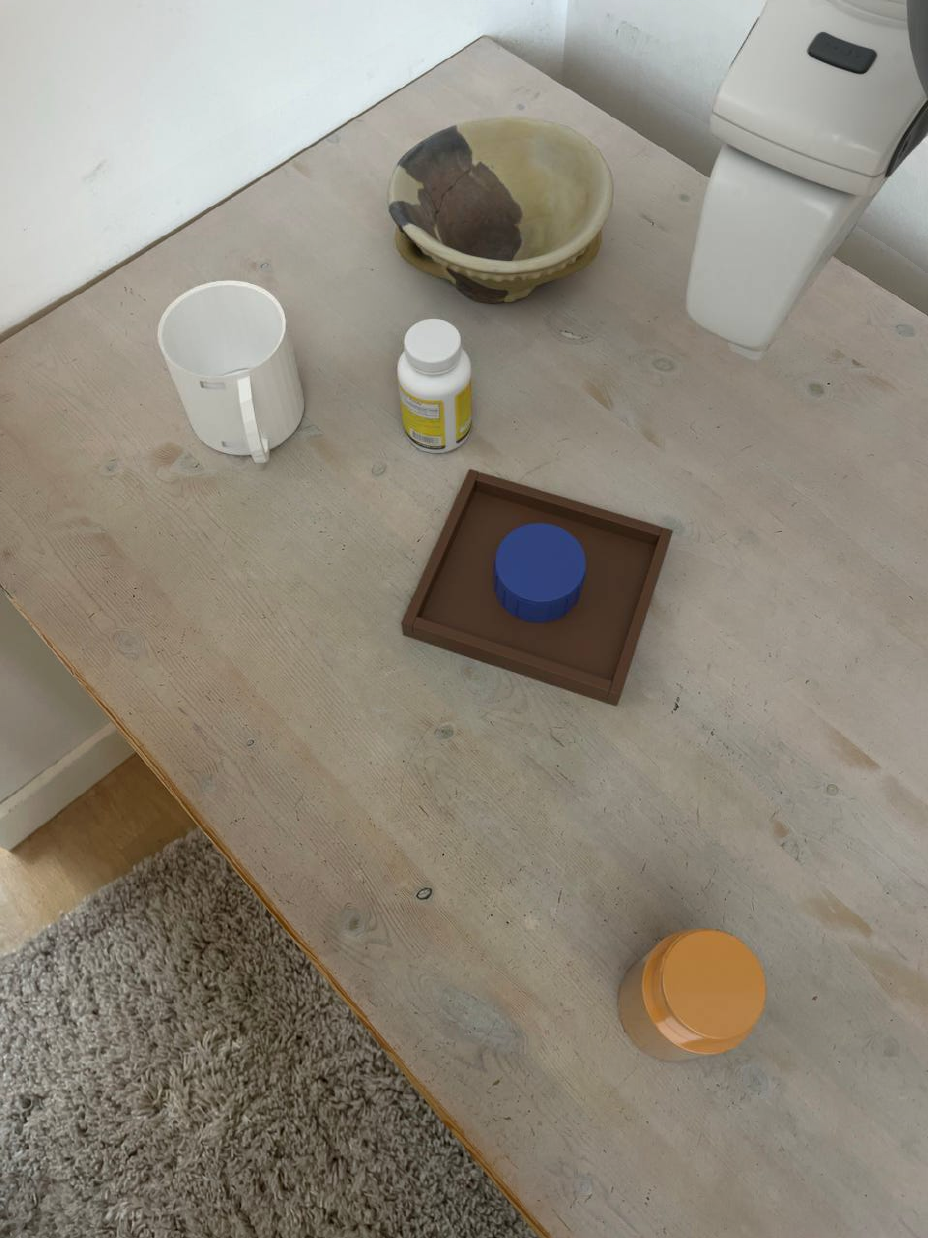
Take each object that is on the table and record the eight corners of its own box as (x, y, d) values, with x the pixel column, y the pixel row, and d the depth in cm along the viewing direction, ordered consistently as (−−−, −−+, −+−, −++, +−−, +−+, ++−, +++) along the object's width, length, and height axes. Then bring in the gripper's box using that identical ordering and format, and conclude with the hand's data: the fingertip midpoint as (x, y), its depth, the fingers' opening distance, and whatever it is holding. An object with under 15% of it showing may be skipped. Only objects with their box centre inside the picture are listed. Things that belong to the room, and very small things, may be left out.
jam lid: (479, 566, 71) (479, 542, 68) (556, 534, 72) (560, 510, 69) (517, 636, 68) (519, 615, 65) (596, 603, 69) (602, 580, 66)
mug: (190, 372, 79) (158, 286, 71) (302, 361, 80) (283, 274, 72) (190, 495, 74) (155, 417, 66) (310, 482, 75) (290, 404, 66)
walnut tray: (668, 544, 72) (673, 529, 70) (616, 706, 66) (620, 695, 64) (469, 484, 74) (469, 468, 73) (402, 635, 69) (401, 622, 67)
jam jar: (730, 974, 59) (789, 944, 48) (705, 1078, 56) (762, 1071, 45) (633, 938, 60) (670, 901, 49) (605, 1039, 57) (637, 1023, 46)
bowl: (607, 211, 88) (622, 114, 79) (589, 366, 80) (604, 277, 71) (413, 192, 89) (408, 94, 80) (376, 342, 81) (366, 251, 72)
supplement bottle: (457, 392, 78) (455, 302, 70) (482, 443, 76) (483, 356, 67) (393, 411, 78) (383, 323, 69) (416, 464, 75) (409, 379, 67)
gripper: (929, -154, 40) (825, 143, 53) (690, 119, 33) (634, 391, 45) (1081, -109, 39) (937, 187, 51) (864, 191, 31) (757, 453, 44)
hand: (793, 285), depth 48 cm, fingers open, 8 cm apart
